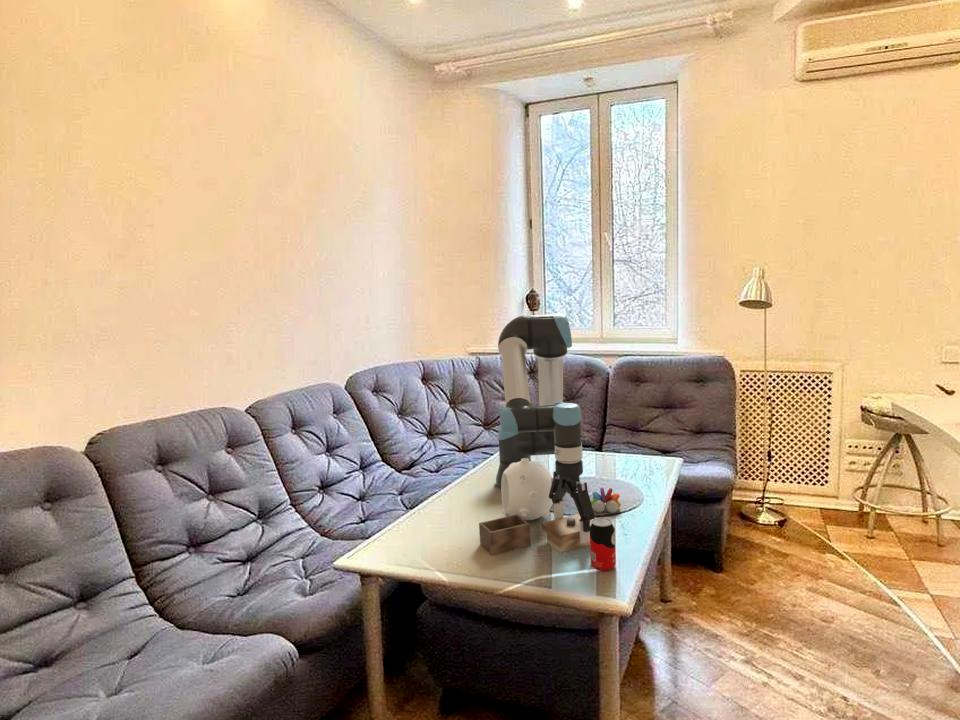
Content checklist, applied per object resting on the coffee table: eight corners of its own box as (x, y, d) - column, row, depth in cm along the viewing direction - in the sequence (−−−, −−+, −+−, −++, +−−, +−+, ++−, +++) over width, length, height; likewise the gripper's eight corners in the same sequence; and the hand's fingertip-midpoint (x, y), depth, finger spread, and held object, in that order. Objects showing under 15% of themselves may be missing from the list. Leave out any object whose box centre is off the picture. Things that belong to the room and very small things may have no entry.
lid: (561, 542, 158) (560, 531, 158) (542, 529, 168) (541, 518, 168) (601, 532, 163) (601, 521, 163) (581, 519, 173) (580, 509, 172)
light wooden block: (560, 554, 161) (559, 540, 160) (547, 544, 167) (546, 531, 166) (597, 544, 165) (596, 530, 165) (583, 535, 172) (582, 522, 171)
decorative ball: (565, 528, 177) (562, 465, 175) (509, 535, 174) (505, 471, 172) (547, 505, 197) (544, 448, 194) (496, 511, 194) (493, 453, 192)
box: (491, 557, 161) (490, 533, 160) (480, 546, 168) (479, 522, 167) (530, 547, 165) (529, 523, 165) (518, 537, 173) (516, 514, 172)
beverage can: (600, 574, 148) (598, 528, 147) (586, 564, 154) (584, 520, 152) (620, 568, 151) (619, 523, 149) (606, 558, 156) (604, 515, 155)
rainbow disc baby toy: (621, 514, 185) (620, 492, 184) (590, 514, 187) (589, 492, 186) (620, 505, 194) (619, 483, 193) (590, 504, 196) (589, 483, 195)
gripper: (535, 451, 173) (538, 520, 176) (582, 474, 150) (585, 553, 153) (557, 447, 176) (560, 515, 178) (606, 469, 153) (609, 547, 156)
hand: (571, 533), depth 166 cm, fingers open, 13 cm apart
